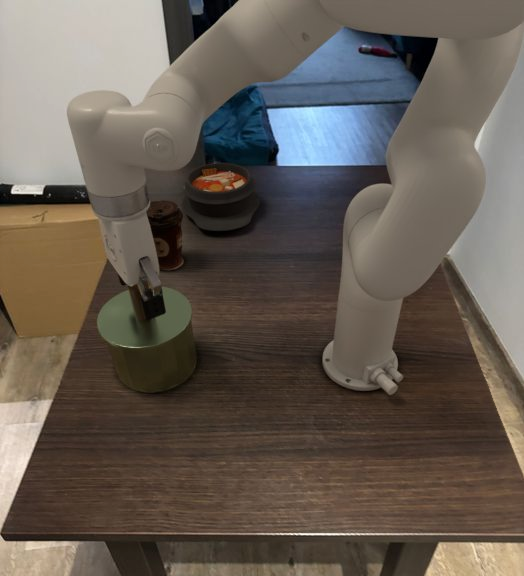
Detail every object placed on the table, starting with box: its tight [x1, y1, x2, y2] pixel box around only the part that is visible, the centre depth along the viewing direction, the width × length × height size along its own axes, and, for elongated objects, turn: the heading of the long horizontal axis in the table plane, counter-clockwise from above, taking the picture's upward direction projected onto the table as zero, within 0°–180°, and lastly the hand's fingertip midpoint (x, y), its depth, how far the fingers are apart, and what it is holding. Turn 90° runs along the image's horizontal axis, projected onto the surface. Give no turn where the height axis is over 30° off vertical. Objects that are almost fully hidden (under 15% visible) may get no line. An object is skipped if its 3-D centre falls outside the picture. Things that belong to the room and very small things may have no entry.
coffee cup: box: [146, 199, 184, 271], centre depth 107 cm, size 9×8×13 cm
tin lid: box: [96, 281, 193, 350], centre depth 81 cm, size 15×15×7 cm
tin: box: [106, 320, 198, 394], centre depth 87 cm, size 14×14×10 cm
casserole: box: [181, 162, 260, 232], centre depth 124 cm, size 25×19×8 cm
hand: (142, 298), depth 81 cm, fingers open, 9 cm apart
